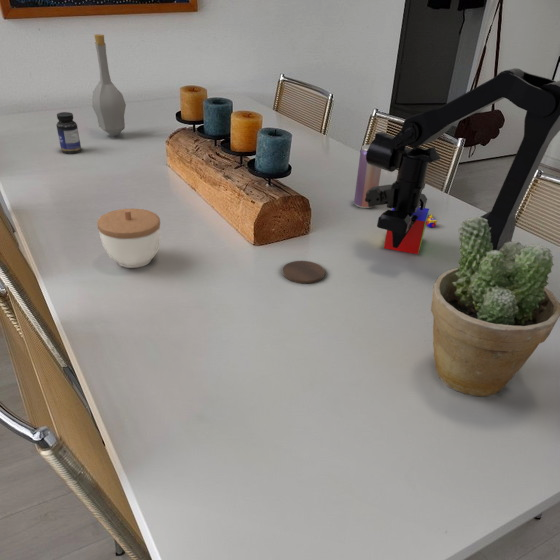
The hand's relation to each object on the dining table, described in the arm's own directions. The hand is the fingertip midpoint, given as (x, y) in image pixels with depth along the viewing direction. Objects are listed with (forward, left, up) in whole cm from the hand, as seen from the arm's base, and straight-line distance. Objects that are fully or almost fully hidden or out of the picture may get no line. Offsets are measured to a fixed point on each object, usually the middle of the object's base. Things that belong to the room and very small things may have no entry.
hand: (395, 247), depth 123 cm
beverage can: (+26, +16, -2) cm, 31 cm away
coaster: (-18, +14, -2) cm, 23 cm away
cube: (+7, 0, -2) cm, 8 cm away
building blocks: (+24, -1, -2) cm, 24 cm away
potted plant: (-36, -25, -2) cm, 44 cm away
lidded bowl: (-32, +48, -2) cm, 58 cm away
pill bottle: (+17, +112, -2) cm, 114 cm away
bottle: (+37, +112, -2) cm, 118 cm away
